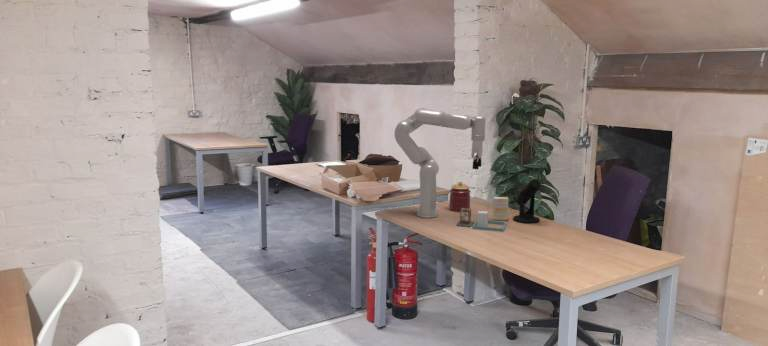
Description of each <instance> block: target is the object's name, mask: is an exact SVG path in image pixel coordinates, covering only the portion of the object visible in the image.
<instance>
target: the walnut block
mask: <svg viewBox="0 0 768 346" xmlns="http://www.w3.org/2000/svg"><path fill="white" fill-rule="evenodd" d="M459 213H460V215H459V217H460V218H459V221H460V224H468V225H469V224H470V222H471V221H472V220H471V218H472V208H471V207H470V208H462V209H461V210H460V212H459Z"/></svg>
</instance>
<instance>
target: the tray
mask: <svg viewBox="0 0 768 346" xmlns="http://www.w3.org/2000/svg"><path fill="white" fill-rule="evenodd" d="M489 224H490V225H500V226H502V227H492V226H487V227H482V226H477V219H476V220H475V221H474V224H473V225H472V227H471V228H472V229H473V230H484V231H493V232H494V231H495V232H502V233H503V232H505V231H504V230H505V229H506V226H507V221H500V220H488V225H489Z"/></svg>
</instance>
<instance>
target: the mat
mask: <svg viewBox="0 0 768 346" xmlns="http://www.w3.org/2000/svg"><path fill="white" fill-rule="evenodd" d="M474 223H475V221H473V220H471V222H470V224H469V225H468V224H460V220H459V221H458V222H457V223H456V227H464V228H465V227H466V228H472V227H471V226H473V224H474Z"/></svg>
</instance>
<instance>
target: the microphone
mask: <svg viewBox="0 0 768 346" xmlns="http://www.w3.org/2000/svg"><path fill="white" fill-rule="evenodd" d="M541 187H542V184H541V182H540V181H539V180H537V179H531V180H530V181H529V182H528V184H526V186H525V187H524V188H522V190H520V191H519V194H518V195H517V196H516V200H515V203H516V204H517V205H518V206H519V213H518V215H514V216H513V218H512V220H513V221H514V222H516V223H520V224H524V225H525V224H528V225H529V224H533V225H534V224H538V223H540V222H541V221H540V218H539V217H538V216H535V194H537V193H538V191H539V190H540V189H541ZM528 202H530V203H529V209H528V211H525V205H526V204H527V203H528Z"/></svg>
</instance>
